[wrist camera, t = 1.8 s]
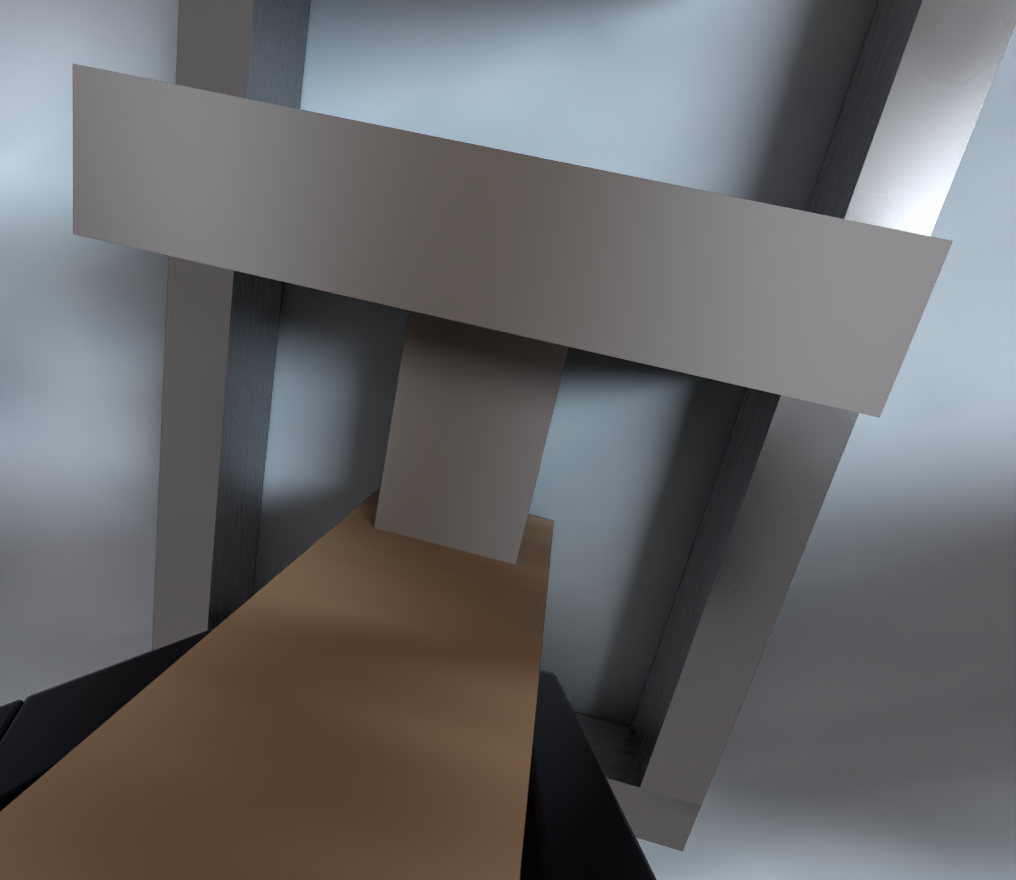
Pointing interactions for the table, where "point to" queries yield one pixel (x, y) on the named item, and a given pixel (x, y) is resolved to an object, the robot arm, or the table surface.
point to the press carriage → (420, 470)
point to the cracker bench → (749, 454)
